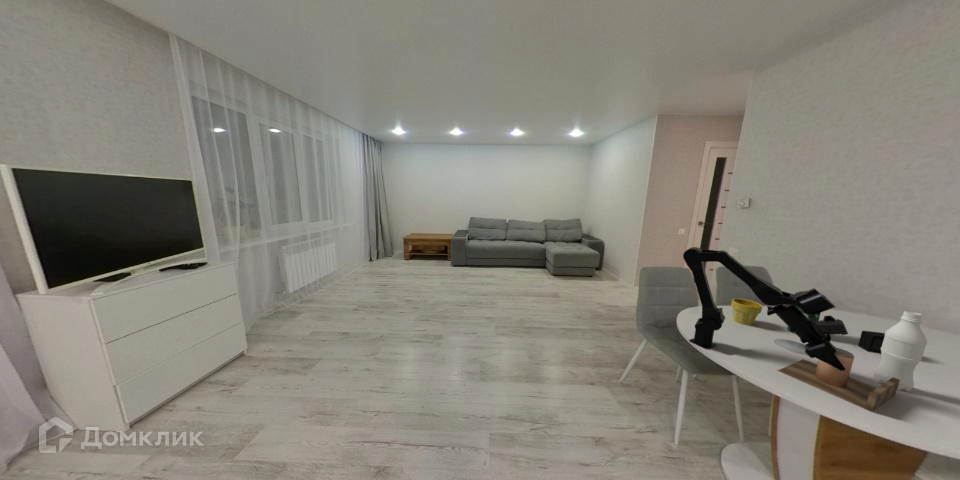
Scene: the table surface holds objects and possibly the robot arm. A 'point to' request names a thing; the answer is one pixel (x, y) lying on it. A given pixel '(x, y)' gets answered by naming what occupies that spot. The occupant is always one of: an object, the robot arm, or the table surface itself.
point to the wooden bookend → (852, 393)
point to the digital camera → (871, 341)
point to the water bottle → (901, 351)
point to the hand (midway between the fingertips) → (841, 365)
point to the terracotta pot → (835, 370)
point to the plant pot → (745, 311)
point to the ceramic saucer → (791, 346)
